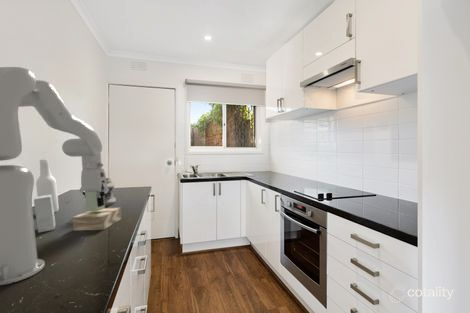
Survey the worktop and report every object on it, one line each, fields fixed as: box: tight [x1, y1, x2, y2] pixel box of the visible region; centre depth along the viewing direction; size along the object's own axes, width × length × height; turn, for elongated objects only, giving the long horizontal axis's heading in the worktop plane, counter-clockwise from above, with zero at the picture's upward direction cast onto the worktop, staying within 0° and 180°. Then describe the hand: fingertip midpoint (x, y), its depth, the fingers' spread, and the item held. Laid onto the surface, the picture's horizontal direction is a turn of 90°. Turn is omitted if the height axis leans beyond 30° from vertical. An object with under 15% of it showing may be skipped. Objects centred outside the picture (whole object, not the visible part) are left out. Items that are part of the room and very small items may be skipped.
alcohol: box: [35, 158, 60, 214], centre depth 134 cm, size 9×9×30 cm
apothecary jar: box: [103, 177, 117, 208], centre depth 131 cm, size 12×12×18 cm
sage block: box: [85, 191, 105, 211], centre depth 110 cm, size 5×5×9 cm
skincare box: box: [33, 195, 57, 233], centre depth 107 cm, size 8×6×15 cm
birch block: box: [71, 207, 122, 231], centre depth 111 cm, size 14×14×6 cm
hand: (95, 205), depth 110 cm, fingers closed on sage block, 4 cm apart
